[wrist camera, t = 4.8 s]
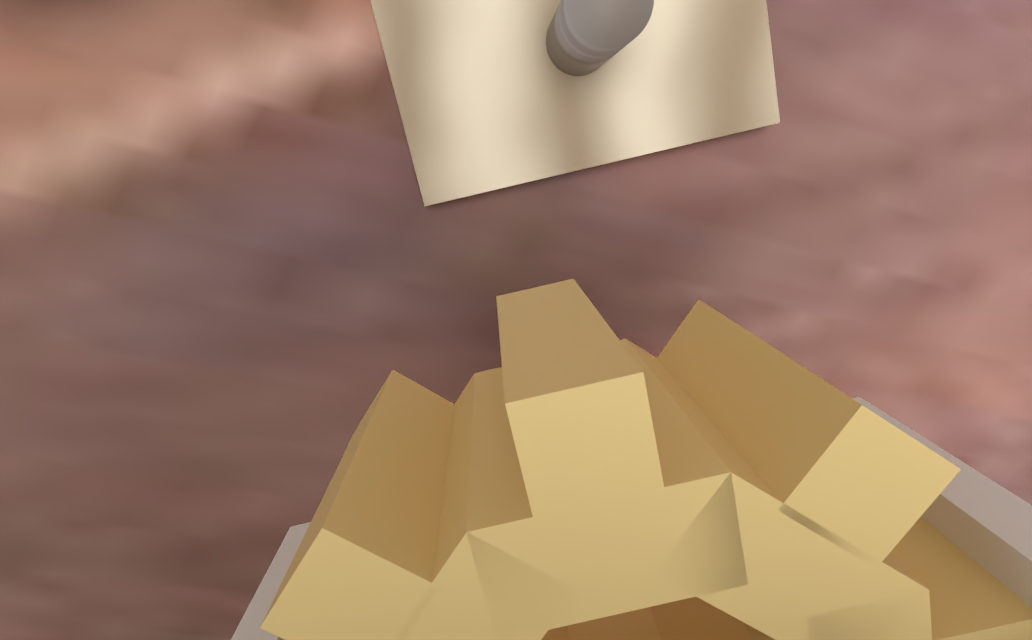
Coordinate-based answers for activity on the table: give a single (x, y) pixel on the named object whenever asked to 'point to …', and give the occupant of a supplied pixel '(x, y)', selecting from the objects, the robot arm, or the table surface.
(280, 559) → the robot arm
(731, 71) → the board
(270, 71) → the table surface
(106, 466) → the table surface
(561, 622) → the gear
